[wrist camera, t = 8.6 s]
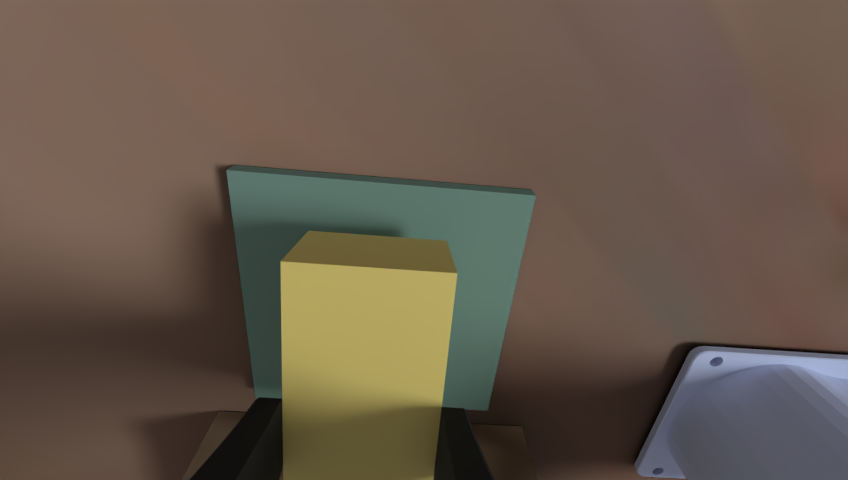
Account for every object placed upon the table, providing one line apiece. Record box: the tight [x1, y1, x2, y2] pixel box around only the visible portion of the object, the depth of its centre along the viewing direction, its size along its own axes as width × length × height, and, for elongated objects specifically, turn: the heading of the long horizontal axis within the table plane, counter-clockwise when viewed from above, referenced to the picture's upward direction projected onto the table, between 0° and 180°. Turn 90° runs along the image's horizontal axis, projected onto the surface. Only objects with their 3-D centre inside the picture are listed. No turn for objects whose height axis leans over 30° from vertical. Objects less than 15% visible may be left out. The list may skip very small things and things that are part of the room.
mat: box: [226, 165, 536, 411], centre depth 15 cm, size 10×10×1 cm
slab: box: [281, 231, 457, 480], centre depth 12 cm, size 4×8×3 cm, turn 175°
